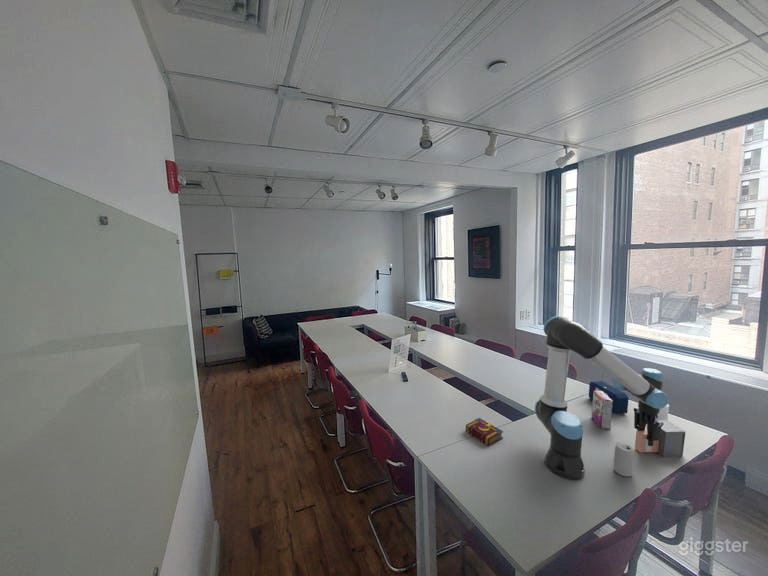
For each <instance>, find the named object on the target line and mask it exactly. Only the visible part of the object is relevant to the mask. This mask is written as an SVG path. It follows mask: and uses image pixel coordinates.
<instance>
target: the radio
mask: <svg viewBox="0 0 768 576" xmlns="http://www.w3.org/2000/svg"><path fill="white" fill-rule="evenodd" d="M603 374H604V371H602V373H601V379H603V377H604V375H603ZM588 388H589V389H588V397H589V399H590V401H592V402H593V391H595V390H596V391H603V392H604V393H605V394H606V395H607V396H608V397H609V398H610V399H611V400H612V401H613V405H612V415H619V414H621V415H622V414H628V409H629V400H630V398H629V396H628V395H627V394H626V393H625V392H623V390H618V389H616V388H615V387H614V386H613V385H610V384H609V383H606V382H605V381H603V380H600V381H590V382H589V387H588Z"/></svg>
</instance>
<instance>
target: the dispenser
mask: <svg viewBox="0 0 768 576" xmlns="http://www.w3.org/2000/svg"><path fill="white" fill-rule="evenodd" d="M659 421H660V422H663V426H662V427H661V431H660V443H659V452H657V453H658V455H660V456H661V457H663V458H672V457H673V458H676V457H677V458H678V457H683V456H684V449H685V448H684V447H685V438H686V432H687V431H686V430H684V429H683V428H681V427H679V426H678V425H675V424H674V423H672V422H671V421H669V420H659Z"/></svg>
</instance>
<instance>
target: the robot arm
mask: <svg viewBox="0 0 768 576" xmlns="http://www.w3.org/2000/svg"><path fill="white" fill-rule="evenodd" d="M543 332H544V334H545V335H546V341H545V345H546V346H547V347H548V356H547V364H546V372H545V381H544V388H543V389H544V390H543V394H542V395H540V396H539V399H538V400H537V401H536V402H535V405H534V413H535V415H536V417H537V419H538V420H539V421H540V423H541V424H542V425H543V427H544V428H545V429H546V430H547V431H548V433H549V435H550V442H549V443H550V444H549V445H550V446H549V448H548V450H547V452H546V454H545V456H544V463H545V466H546V468H547V469H549V471H551V472H552V473H554V475H557V476H559V477H561V478H564V479H567V480H581V479H582V478H584V476H585V465H584V461H583V458H582V446H583V445H582V443H583V434H584V427H583V423H582V420H581V419H580V418H579V417H577V416H576V415H575V414H574V413H573V414H572V413H571V412H569V411H567V410H568V402H567V401H566V400H565V395H566V390H567V389H566V388H567V382H568V381H567V380H568V372H569V365H570V357H571V356H570V355H571V352H574V353H576V354H577V355H579V356H580V357H582V358H583V359H584V360H590V361H591V362H592V363H593V364H595V365H596V366H597V367H599V368H600V369H601V370H602V371H603V372H605V373H607V374H608V375H609V376H610V377H611V383H612V387H614V388H616V389H618V390H620V391H622V392H623V391H627V392H628V393H630V394H631V395H632V396H634V397H636V398H638V403H637V407H633V413H634V419H633V420H634V422H633V423H634V424H633V427H634V429H635V430H636V431H647V437H646V439H645V449H644V451H651V450H652V446H653V442H654V441H658V440H659V436H660V431H661V427H662V426H663V422H660V421H659V420H658V416H657V414H658V413H659V411H660V409H661V408H664V407H665V406H666V405H667V404H669V401H670V400H669V396H668V395H667V394H666V393H665V392H663V383H664V373H663V372H661V371H660V370H658V369H656V368H651V367H644V368H641V371H640V373H638V372H636V371H635V370H633V368H631V367H630V366H628V364H626V363H625V362H624V361H622V360H621V359H619V358H618V357H617V356H616V355H614V354H613V353H612V352H611V351H609V350H608V349H607V348H606V347H604V343H603V342H602V341H601V340H599V339H598V338H597V337H596V336H595V335H594V334H592V333H591V332H590V331H589V330H588V329H587V328H586V327H585V326H584V325H582V324H581V323H578V322H576V321H574V320H571V319H569V318H568V317H565V316H561V315H555V316H552V317H550V318H548V319H547V320H546V321H545V322H544V324H543ZM645 429H646V430H645Z"/></svg>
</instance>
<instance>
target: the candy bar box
mask: <svg viewBox="0 0 768 576" xmlns="http://www.w3.org/2000/svg"><path fill="white" fill-rule="evenodd" d="M612 405H613V401H612V400H611V399H610V398H609V397H608V396H607V395H606V394H605V393H604V392H603V391H596V390H595V391H593V401H592V407H591V410H592V411H591V418H592V419H593V420H594V422H596V424H597V425H598V426H599V427H600V428H601V429H604V430H605V429H608V430H612V429H611V428H612V417H613V413H612Z"/></svg>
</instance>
